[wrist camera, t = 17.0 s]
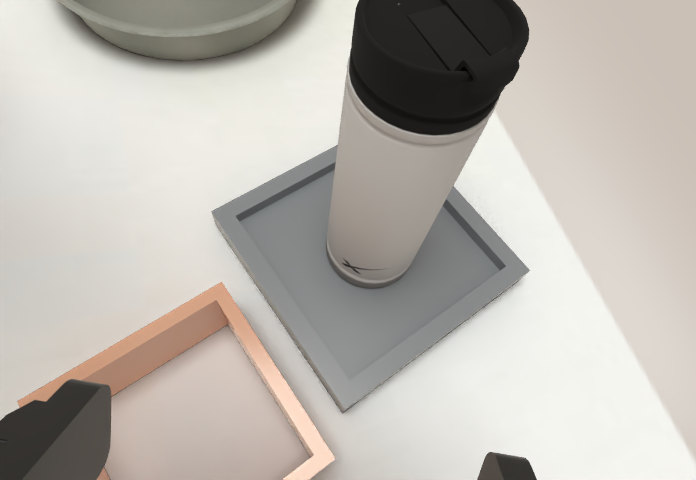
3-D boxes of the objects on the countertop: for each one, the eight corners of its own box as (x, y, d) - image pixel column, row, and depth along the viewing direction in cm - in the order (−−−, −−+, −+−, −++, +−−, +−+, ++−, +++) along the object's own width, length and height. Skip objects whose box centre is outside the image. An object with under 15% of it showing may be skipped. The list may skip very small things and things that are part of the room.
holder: (61, 412, 29) (17, 401, 24) (232, 308, 33) (221, 281, 28) (149, 603, 25) (116, 631, 21) (330, 461, 29) (335, 458, 24)
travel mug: (350, 308, 32) (416, 100, 14) (311, 227, 35) (326, -37, 17) (430, 273, 34) (578, 50, 16) (387, 199, 36) (475, -69, 18)
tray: (215, 224, 35) (211, 211, 33) (386, 132, 40) (390, 117, 39) (342, 413, 30) (345, 409, 28) (518, 280, 35) (530, 270, 34)
